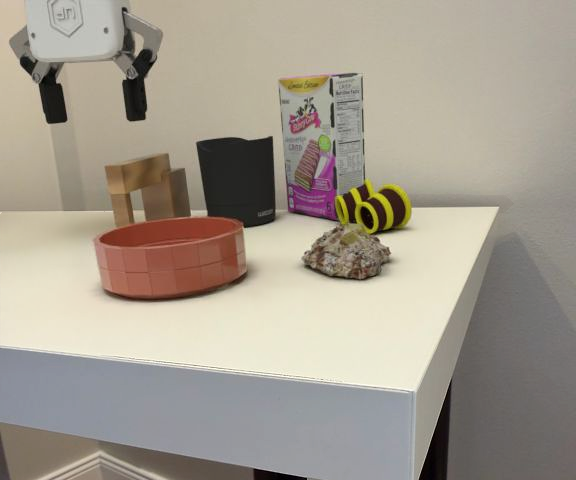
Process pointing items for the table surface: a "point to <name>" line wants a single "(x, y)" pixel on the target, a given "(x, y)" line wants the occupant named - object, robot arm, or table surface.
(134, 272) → the bowl
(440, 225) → the table surface
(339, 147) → the candy bar box
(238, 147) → the pen holder
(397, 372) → the table surface
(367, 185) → the opera glasses
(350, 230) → the mineral rock
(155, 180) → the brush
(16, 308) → the table surface
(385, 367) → the table surface
